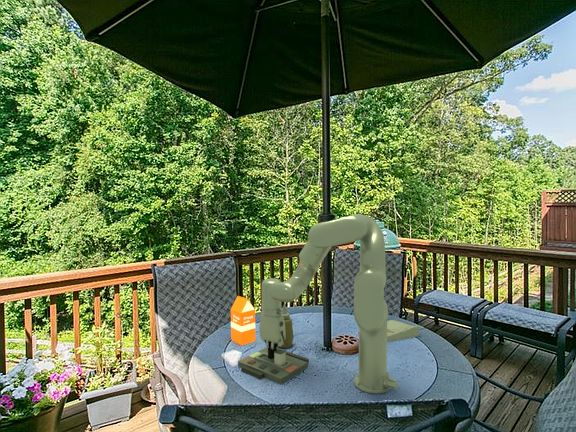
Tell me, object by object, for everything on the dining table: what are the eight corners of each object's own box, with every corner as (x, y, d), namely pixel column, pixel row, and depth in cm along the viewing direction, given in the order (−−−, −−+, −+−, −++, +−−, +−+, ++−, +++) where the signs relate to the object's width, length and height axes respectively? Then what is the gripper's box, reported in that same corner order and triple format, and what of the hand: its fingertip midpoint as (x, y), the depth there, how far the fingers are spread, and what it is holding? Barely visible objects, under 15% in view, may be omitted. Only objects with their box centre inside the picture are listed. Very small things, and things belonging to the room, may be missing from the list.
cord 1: (263, 377, 130) (263, 373, 130) (260, 379, 129) (260, 375, 129) (244, 369, 137) (244, 365, 137) (241, 371, 135) (241, 367, 135)
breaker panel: (307, 367, 138) (307, 360, 138) (281, 384, 126) (281, 376, 125) (265, 352, 152) (265, 345, 152) (238, 366, 139) (237, 359, 139)
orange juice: (241, 345, 159) (240, 301, 158) (230, 339, 166) (230, 297, 165) (255, 340, 164) (255, 297, 163) (244, 335, 171) (244, 293, 170)
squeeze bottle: (291, 350, 154) (291, 309, 153) (273, 348, 155) (273, 308, 154) (295, 342, 161) (295, 303, 160) (277, 341, 163) (277, 302, 162)
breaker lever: (285, 363, 136) (285, 350, 136) (280, 366, 134) (280, 353, 134) (279, 361, 138) (279, 348, 138) (274, 364, 136) (274, 351, 136)
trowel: (363, 344, 160) (363, 332, 160) (355, 331, 176) (355, 320, 176) (425, 343, 161) (425, 331, 160) (412, 330, 177) (412, 319, 176)
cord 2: (308, 362, 142) (308, 358, 142) (306, 364, 141) (306, 360, 140) (274, 350, 153) (274, 347, 153) (272, 352, 152) (272, 348, 152)
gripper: (293, 312, 136) (293, 359, 137) (264, 305, 145) (264, 349, 146) (280, 317, 130) (280, 367, 131) (251, 309, 140) (251, 355, 141)
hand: (272, 357), depth 139 cm, fingers closed
